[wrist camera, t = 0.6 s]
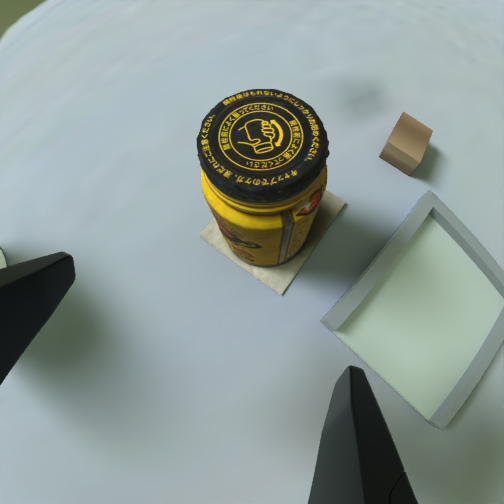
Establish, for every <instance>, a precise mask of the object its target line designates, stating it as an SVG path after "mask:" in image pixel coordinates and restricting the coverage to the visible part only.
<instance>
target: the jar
mask: <svg viewBox="0 0 504 504" xmlns="http://www.w3.org/2000/svg"><path fill="white" fill-rule="evenodd" d="M5 267H7V266H6V261H5V258H4V255H3V253H2V251H1V249H0V269H1V268H5Z"/></svg>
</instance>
